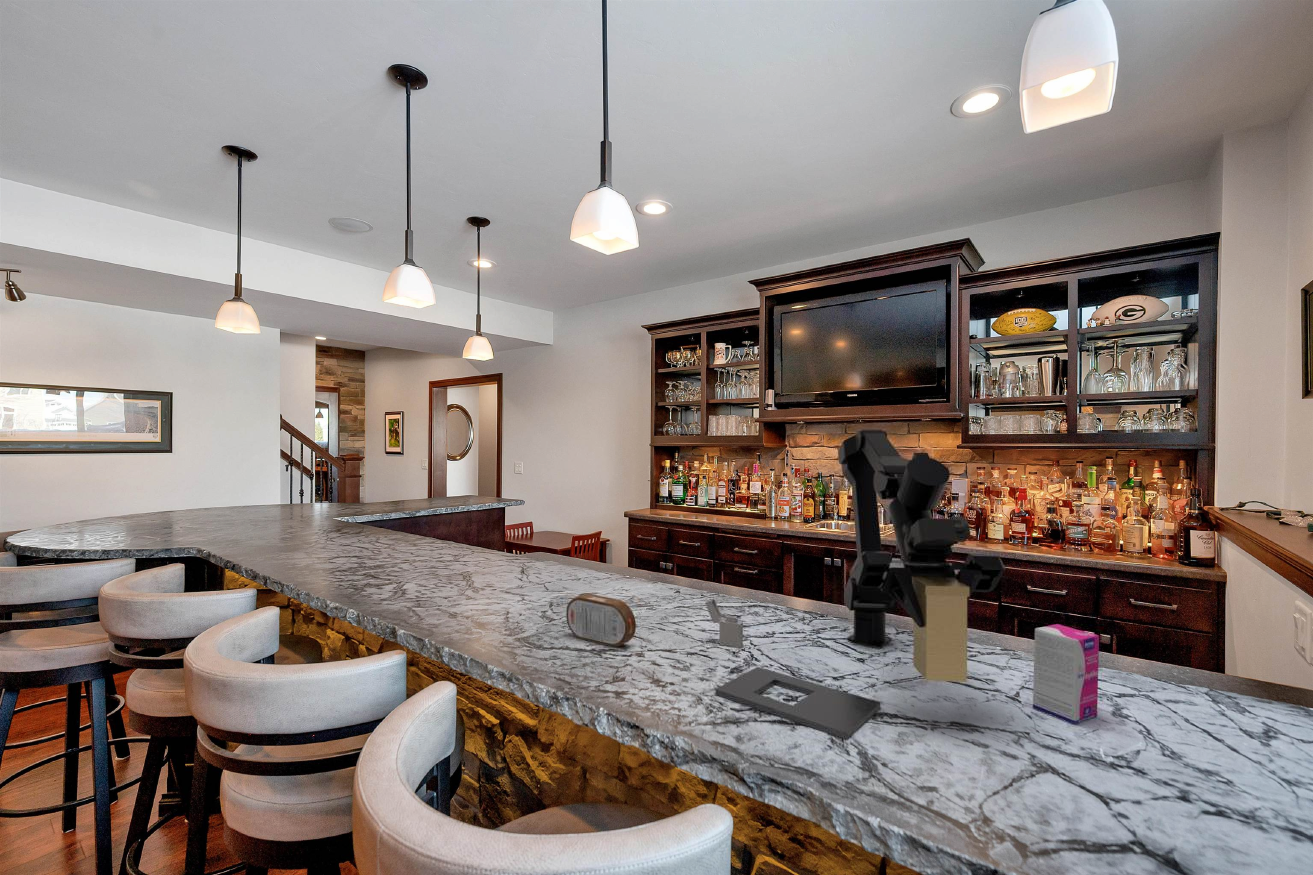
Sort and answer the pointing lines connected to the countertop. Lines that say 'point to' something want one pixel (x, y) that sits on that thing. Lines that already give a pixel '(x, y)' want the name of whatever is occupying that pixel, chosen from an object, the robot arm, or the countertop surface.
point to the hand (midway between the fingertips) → (943, 626)
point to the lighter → (726, 626)
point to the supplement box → (1066, 673)
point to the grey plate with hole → (802, 702)
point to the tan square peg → (941, 629)
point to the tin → (601, 619)
